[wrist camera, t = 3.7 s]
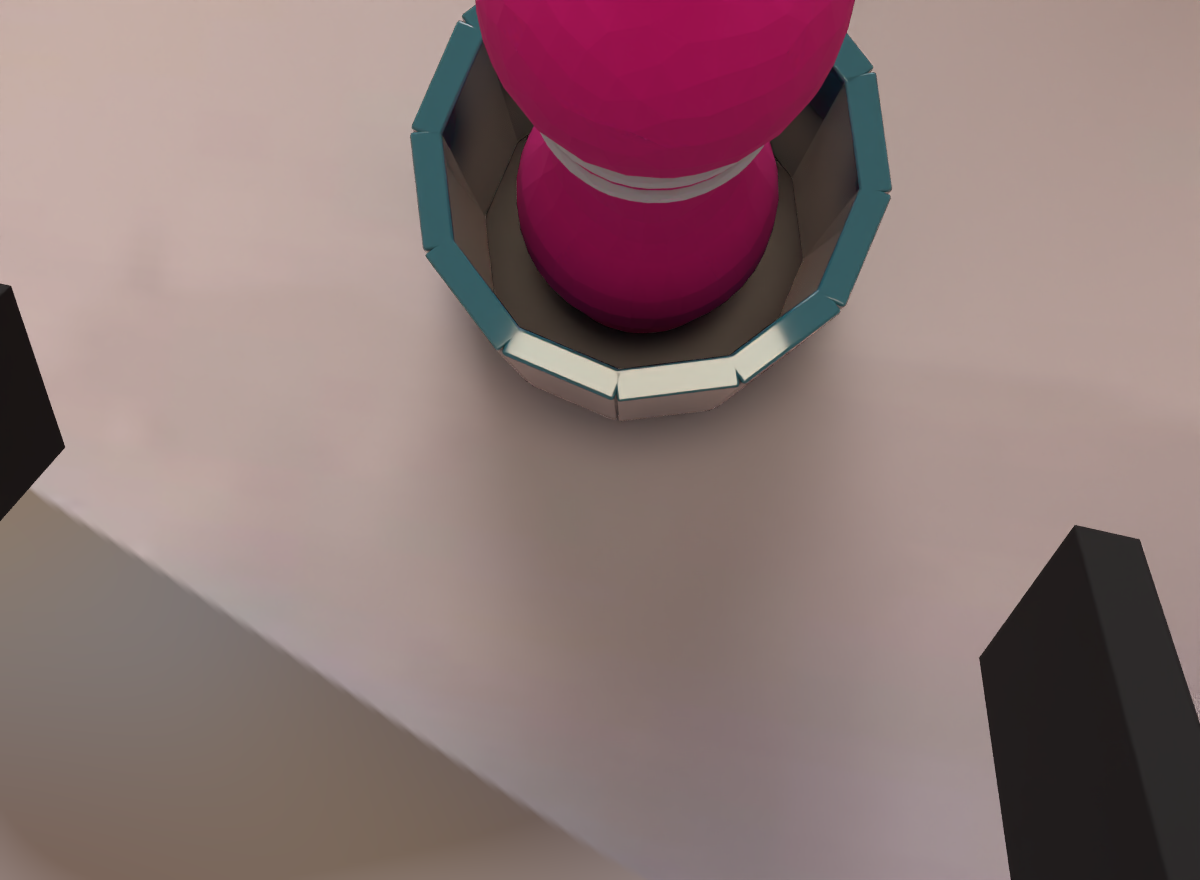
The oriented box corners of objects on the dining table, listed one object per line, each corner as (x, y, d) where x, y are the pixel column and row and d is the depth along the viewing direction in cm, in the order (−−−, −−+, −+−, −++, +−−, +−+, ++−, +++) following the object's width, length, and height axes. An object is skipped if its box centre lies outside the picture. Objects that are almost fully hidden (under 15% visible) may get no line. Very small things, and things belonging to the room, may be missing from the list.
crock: (896, 272, 31) (984, 204, 23) (608, 489, 31) (602, 492, 23) (677, -7, 31) (694, -161, 24) (394, 205, 31) (321, 118, 24)
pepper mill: (801, 238, 31) (1128, -211, 11) (642, 395, 31) (675, 231, 11) (644, 83, 31) (680, -629, 11) (485, 238, 31) (238, -204, 11)
